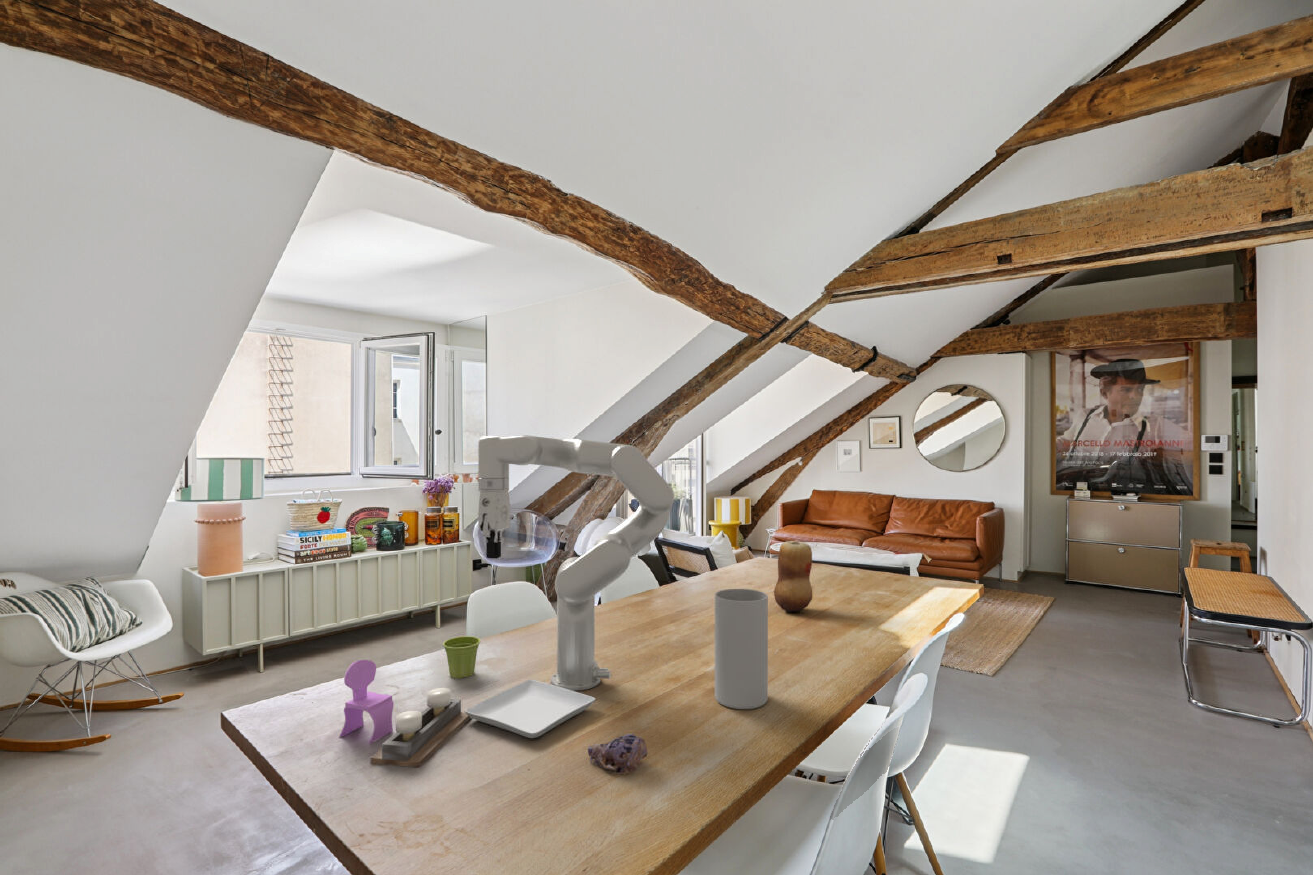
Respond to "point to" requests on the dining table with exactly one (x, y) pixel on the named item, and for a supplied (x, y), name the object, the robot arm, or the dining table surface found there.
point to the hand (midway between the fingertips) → (493, 557)
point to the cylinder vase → (741, 648)
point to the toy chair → (366, 701)
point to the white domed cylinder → (408, 724)
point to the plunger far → (438, 699)
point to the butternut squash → (794, 576)
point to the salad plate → (530, 708)
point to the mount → (422, 738)
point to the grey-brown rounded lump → (619, 753)
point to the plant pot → (461, 655)
